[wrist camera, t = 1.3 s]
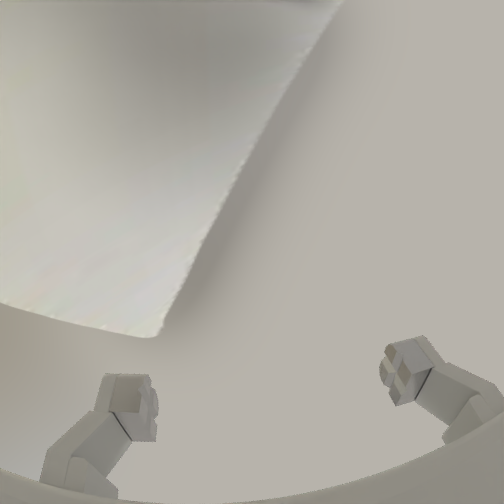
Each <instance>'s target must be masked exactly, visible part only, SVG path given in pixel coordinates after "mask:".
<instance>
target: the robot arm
mask: <svg viewBox="0 0 504 504" xmlns="http://www.w3.org/2000/svg"><path fill="white" fill-rule="evenodd" d="M385 354H386V357H384V359H383V360H382V361H381V364H380V367H379V368H380V369H379V370H380V377H381V380H382V382H383V384H384V385H386V386H387V387H389V388H390V389H389V395H390V397H391V399H392V400H393V402H394V404H395V406H399V405H402V404H406V403H409V402H412V401H415V402H416V403H417V404H419V405H420V406H422V407H423V408H424V409H426V410H427V411H428V412H430V413H431V414H433V415H434V416H436V417H437V418H439V419H440V420H441V421H443V422H444V423H446V424H447V425H449V427H448V428H447V430H446V431H445V432H444V433H443V435H442V439H443V441H444V443H445V446H442V447H441V448H438V449H437V450H434V451H432V452H430V453H428V454H426V455H423V456H421V457H419V458H417V459H414V460H412V461H409V462H407V463H404V464H402V465H399V466H397V467H394V468H392V469H389V470H386V471H384V472H380V473H378V474H375V475H372V476H369V477H365V478H362V479H359V480H356V481H352V482H349V483H345V484H342V485H338V486H334V487H330V488H326V489H322V490H317V491H313V492H308V493H303V494H299V495H293V496H287V497H282V498H274V499H267V500H259V501H251V502H250V501H249V502H240V503H224V504H504V397H503V395H502V394H501V392H500V391H499V390H498V388H497V387H496V386H495V385H494V384H493V383H491V382H489V381H487V380H484V379H482V378H480V377H478V376H476V375H474V374H472V373H469V372H468V371H466V370H463V369H461V368H459V367H457V366H455V365H453V364H451V363H445V362H444V360H443V359H442V358H441V356H440V355H439V354H438V352H437V351H436V350H435V348H434V347H433V346H432V345H431V343H430V342H429V341H428V340H427V338H426V337H425V336H423V335H422V336H418V337H415V338H411V339H407V340H403V341H399V342H395V343H391V344H389V345H388V346H387V347H386V349H385ZM157 415H158V398H157V394H156V391H155V389H153V388H152V387H151V379H150V377H149V375H146V374H110V373H106V374H105V375H104V376H103V378H102V381H101V385H100V388H99V392H98V396H97V399H96V403H95V407H94V411H89V412H88V413H87V414H86V415H85V416H83V417H82V418H81V419H80V420H79V421H78V422H77V423H76V424H75V425H74V426H73V427H72V428H70V429H69V430H68V431H67V432H66V433H65V434H64V435H63V436H62V437H61V438H60V439H59V440H58V441H57V442H55V443H54V444H53V445H52V446H51V447H50V448H49V449H48V450H47V453H46V456H45V461H44V464H43V468H42V472H41V477H40V481H39V482H38V481H34V480H32V479H29V478H26V477H22V476H20V475H17V474H14V473H11V472H9V471H6V470H4V469H1V468H0V504H162V503H147V502H137V501H128V500H119V499H118V489H117V488H116V487H115V486H114V485H113V484H112V483H111V482H110V481H109V480H107V479H106V477H107V475H108V474H109V473H110V471H111V470H112V469H113V468H114V466H115V465H116V463H117V462H118V461H119V460H120V458H121V457H122V456H123V454H124V453H125V452H126V450H127V449H128V448H129V446H130V445H131V444H132V441H141V442H142V441H144V442H156V432H157V425H156V423H155V421H154V419H155V418H156V417H157Z"/></svg>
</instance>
